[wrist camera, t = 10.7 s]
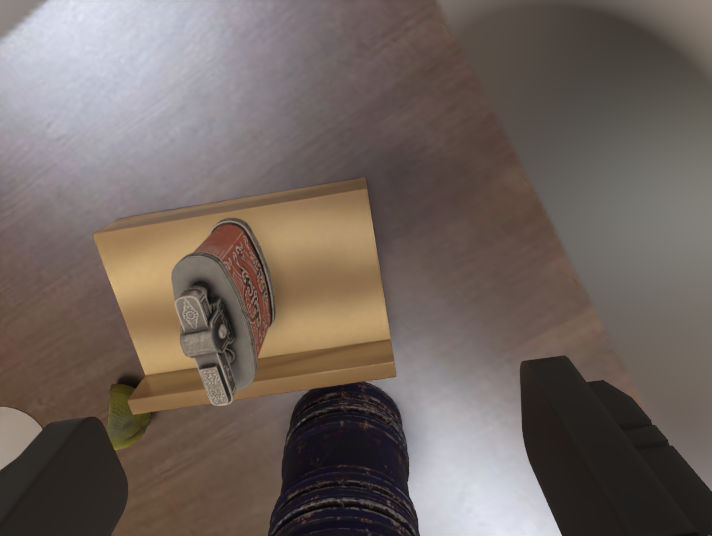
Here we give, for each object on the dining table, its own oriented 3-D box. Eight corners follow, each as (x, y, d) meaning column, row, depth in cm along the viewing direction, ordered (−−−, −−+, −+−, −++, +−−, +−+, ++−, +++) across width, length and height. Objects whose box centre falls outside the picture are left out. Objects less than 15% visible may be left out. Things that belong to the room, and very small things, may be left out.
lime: (129, 427, 41) (100, 471, 36) (95, 384, 40) (60, 424, 35) (172, 409, 40) (149, 451, 36) (140, 364, 39) (111, 402, 34)
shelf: (119, 218, 35) (65, 249, 28) (365, 177, 34) (368, 199, 27) (169, 359, 39) (132, 415, 32) (389, 327, 38) (396, 377, 31)
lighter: (202, 222, 31) (135, 283, 21) (253, 212, 30) (208, 268, 21) (237, 332, 33) (192, 427, 24) (284, 323, 33) (257, 416, 24)
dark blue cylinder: (336, 488, 44) (327, 678, 30) (265, 418, 41) (219, 591, 27) (425, 435, 42) (462, 611, 28) (357, 357, 39) (360, 510, 25)
